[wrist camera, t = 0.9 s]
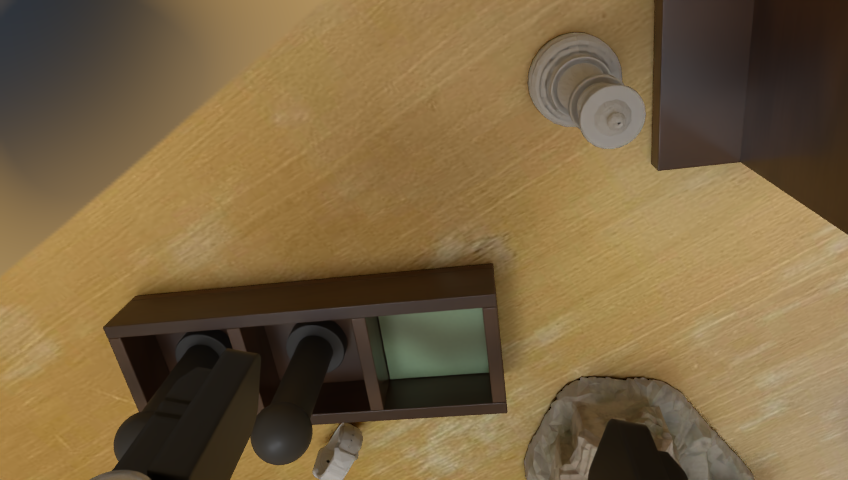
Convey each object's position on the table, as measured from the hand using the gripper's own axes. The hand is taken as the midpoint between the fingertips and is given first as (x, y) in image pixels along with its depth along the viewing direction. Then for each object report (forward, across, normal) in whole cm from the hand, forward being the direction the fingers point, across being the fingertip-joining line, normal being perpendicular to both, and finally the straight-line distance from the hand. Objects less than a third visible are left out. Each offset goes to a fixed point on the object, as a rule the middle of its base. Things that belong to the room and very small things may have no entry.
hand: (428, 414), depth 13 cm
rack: (+20, +6, +13) cm, 24 cm away
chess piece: (+20, -5, -5) cm, 22 cm away
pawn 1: (+19, +13, +15) cm, 28 cm away
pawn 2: (+19, +6, +13) cm, 24 cm away
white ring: (+20, +4, +20) cm, 29 cm away
